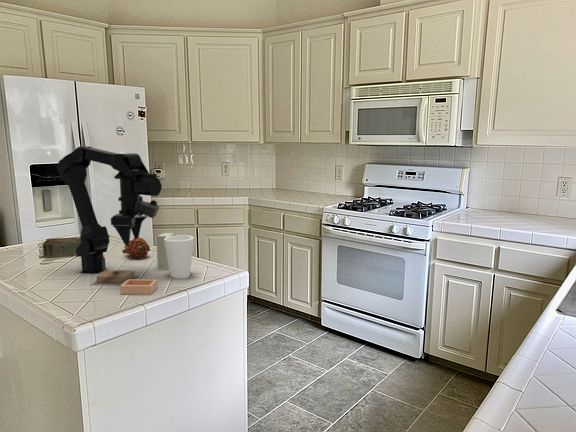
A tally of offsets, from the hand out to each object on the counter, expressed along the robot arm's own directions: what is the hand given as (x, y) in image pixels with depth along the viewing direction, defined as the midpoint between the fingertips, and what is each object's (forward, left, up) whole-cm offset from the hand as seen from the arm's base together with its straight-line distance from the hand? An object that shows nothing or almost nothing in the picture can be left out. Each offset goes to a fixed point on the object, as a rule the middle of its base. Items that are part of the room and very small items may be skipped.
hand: (132, 241), depth 139 cm
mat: (-5, -3, -12) cm, 13 cm away
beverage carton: (-36, +30, -13) cm, 48 cm away
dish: (+6, -13, -12) cm, 19 cm away
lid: (-5, -3, -12) cm, 13 cm away
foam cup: (+14, +3, -13) cm, 19 cm away
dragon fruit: (-9, +26, -13) cm, 30 cm away
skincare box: (+7, +12, -13) cm, 19 cm away
